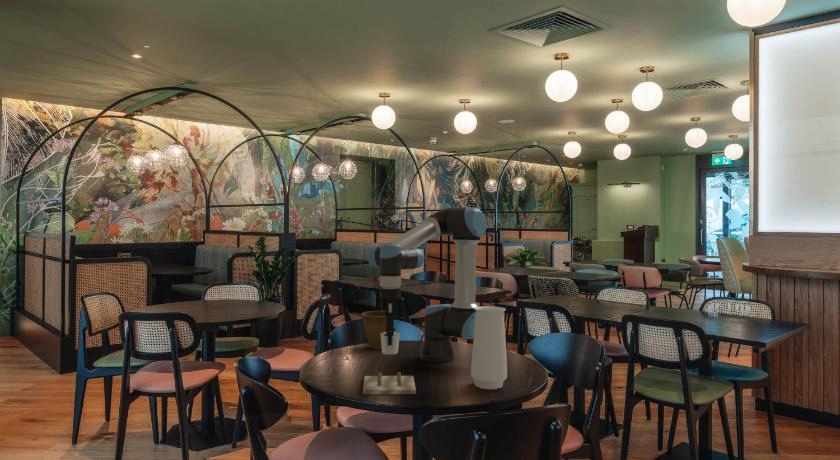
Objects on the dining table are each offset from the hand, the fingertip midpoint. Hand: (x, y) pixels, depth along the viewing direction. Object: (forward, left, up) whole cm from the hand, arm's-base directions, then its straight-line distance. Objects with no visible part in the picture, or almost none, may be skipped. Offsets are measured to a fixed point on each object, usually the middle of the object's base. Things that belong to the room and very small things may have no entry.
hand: (389, 351), depth 212 cm
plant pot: (+5, -64, -13) cm, 65 cm away
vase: (-36, -1, -13) cm, 38 cm away
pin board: (0, 0, -13) cm, 13 cm away
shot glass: (0, 0, -1) cm, 1 cm away
